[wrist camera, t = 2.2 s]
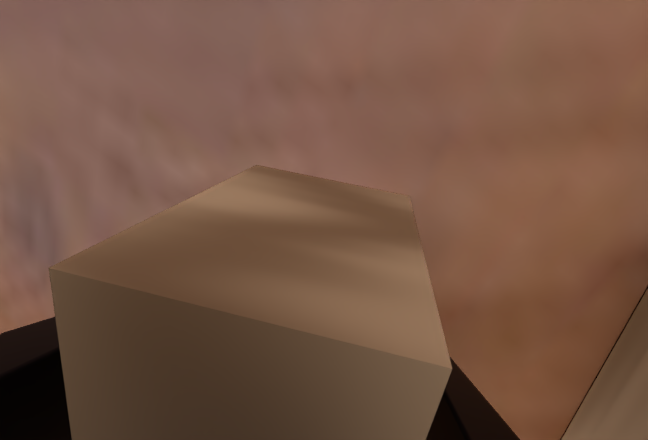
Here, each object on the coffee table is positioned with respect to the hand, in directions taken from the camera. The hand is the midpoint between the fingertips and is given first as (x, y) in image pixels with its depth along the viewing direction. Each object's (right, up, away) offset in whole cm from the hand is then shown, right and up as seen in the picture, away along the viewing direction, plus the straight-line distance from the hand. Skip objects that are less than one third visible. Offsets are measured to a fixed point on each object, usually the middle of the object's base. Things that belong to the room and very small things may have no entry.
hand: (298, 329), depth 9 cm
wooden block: (0, +1, +2) cm, 2 cm away
